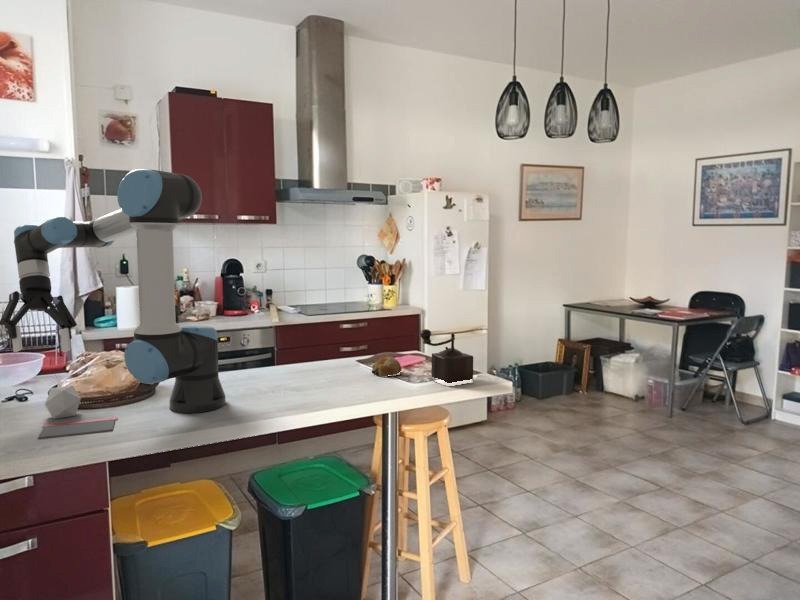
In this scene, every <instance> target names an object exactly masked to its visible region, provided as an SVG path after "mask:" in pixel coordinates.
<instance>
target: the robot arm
mask: <svg viewBox="0 0 800 600" xmlns="http://www.w3.org/2000/svg"><path fill="white" fill-rule="evenodd" d="M116 199H117V203H118V206H119V208H120V209H117V210H115V211H113V212H110V213H108V214H105V215H103V216H100V217H97V218H95V219H93V220H91V221H73V220H72V219H70V218H67V217H66V216H63V215H58V216H55V217H52V218H49V219H47V220H46V221H44V222H43V223H41V224H39V225H38V224H31V223H28V224H24V225H19V226H17V227H16V228H15V229H14V231H13V235H14V236H13V237H14V238H13V245H14V248H15V257H16V264H17V273H18V279H19V281H18V283H19V291H20V292H19V291H18V290H15V291H13V292H11V293H10V294H9V295H8V302H7V304H6V307H5V308H4V311H3V313H2V315H1V318H0V326H4V328H5V329H6V330H7V331H8V338H9V339H10V340H12V341H11V342H12V349H13V353H18V352H19V351H22V350H23V349H24V347H23V343H22V342H23V341H22V340H23V339H22V332H21V325H17V324H18V323H20V321H21V320H22V319H23V317H25V315H26V314H27V313H28V311H29V310H30V311H38V312H44V313H45V314H47V315H48V316H49V317H50V318H51V319H52V320H53V321H54V322H55V323H56V324H57V325H58V326H59V328H60V329H61V330H59V336H60V343H61V349H62V351H61V352H62V353H67V352H69V351H71V350H72V348H71V347H72V346H71V340H72V339H73V338H72V337H73V336H72V329H73V328H75V327H76V326H78V323H77V322H76V320H75V319H74V317H73V315H72V313H71V312H70V310H69V309H68V307H67V305H66V304H65V302H64V301H65V300H64V297H63V296H62V295H58V296H53V295H52V293H51V292H52V281H51V278H50V276H51V273H50V266H49V260H48V259H49V258H48V254H49V253H52V252H54V251H55V250H57V249H66V248H67V249H73V248H98V249H99V248H104V247H105V248H106V247H110V246H111V245H113V243H114V242H115V240H118V239H121V238H124V237H126V236H128V235H132V234H134V233H136V234H135V235H136V253H137V254H136V256H137V258H136V259H137V260H136V261H137V281H138V282H137V283H138V284H137V285H138V304H139V305H138V307H139V324H138V326H136V328H135V329H134V330H133V340H132V341H131V342H129V343H128V344H127V345H126V347H125V350H124V353H123V358H124V365H125V366H126V368H127V372H129V374H130V375H132V377H133V379H135V380H137V381H138V382H140V383H141V384H147V385H149V384H151V385H152V384H155V383H162V382H165V381H166V380H167V381H168V380H170V379H173V378H175V381H174V385H173V386H172V387H173V389H172V391H171V394H170V398H169V409H170V410H172V411H173V412H175V413H182V414H183V413H184V414H185V413H186V414H195V413H205V412H211V411H215V410H217V409H220V408H222V407H224V406H225V405H226V399H227V398H226V393H225V391H224V389H223V386H222V383H221V381H220V377H219V345H218V343H219V338H218V333H217V332H218V331H217V329H216V328H215V327H212V326H208V325H207V326H205V325H188V324H187V325H181V324H180V325H179V324H178V323H177V321H176V296H175V295H176V293H175V292H176V291H175V263H174V260H175V259H174V257H175V256H174V233H173V232H174V230H175V229H176V228H177V227H178V226H179V225H180V220H183V219H186V218H189V217H191V216H194V215H195V213H197V212H198V211H199V209H200V208H201V205H202V202H203V195H202V190H201V189H200V186H199V185H198V183H197V182H196V181H195V180H194V179H193V178H191V176H188V175H185V174H183V173H177V172H176V173H175V172H168V171H163V170H157V169H151V168H147V169H146V168H145V169H143V168H142V169H141V168H138V169H133V170H131V171H129V172H128V173H127V174H126V175H125V176H124V177H123V178H122V179H121V181H120V183H119V185H118V188H117V198H116ZM20 300H21V301H22V302H23V304H22V306H21V307H19V310H18V311H17V312H16V313H15V315H14V316H13V314H14V312H15V310H16V308H17V305H18V303H19V301H20Z"/></svg>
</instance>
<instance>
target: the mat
mask: <svg viewBox="0 0 800 600" xmlns="http://www.w3.org/2000/svg"><path fill="white" fill-rule="evenodd" d="M115 423H116V420H108V421H98V422H88V423H79V424H69V425H59V426H49V427H44V428H43V427H42V428H43V429H42V430H41V432H40V433H39V434H38V436H37V439H38V440H41V439H48V438H49V439H51V438H60V437H69V436H77V435H85V434H95V433H105V432H112V431H114V425H115Z"/></svg>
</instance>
